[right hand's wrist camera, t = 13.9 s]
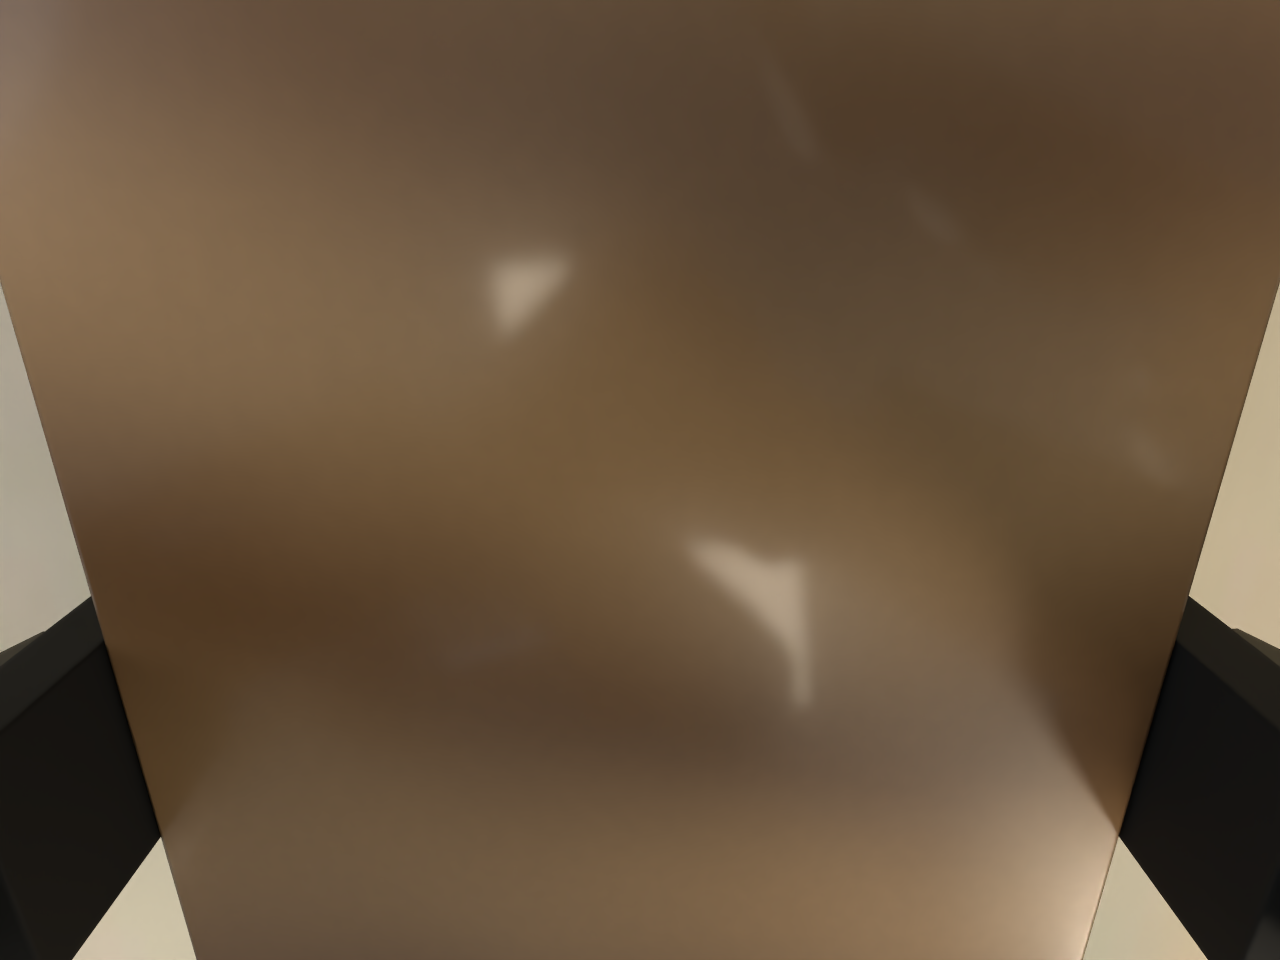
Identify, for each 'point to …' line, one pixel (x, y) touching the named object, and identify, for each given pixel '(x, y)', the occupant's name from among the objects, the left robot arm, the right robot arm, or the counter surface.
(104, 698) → the right robot arm
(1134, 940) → the counter surface
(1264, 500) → the counter surface
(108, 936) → the counter surface
